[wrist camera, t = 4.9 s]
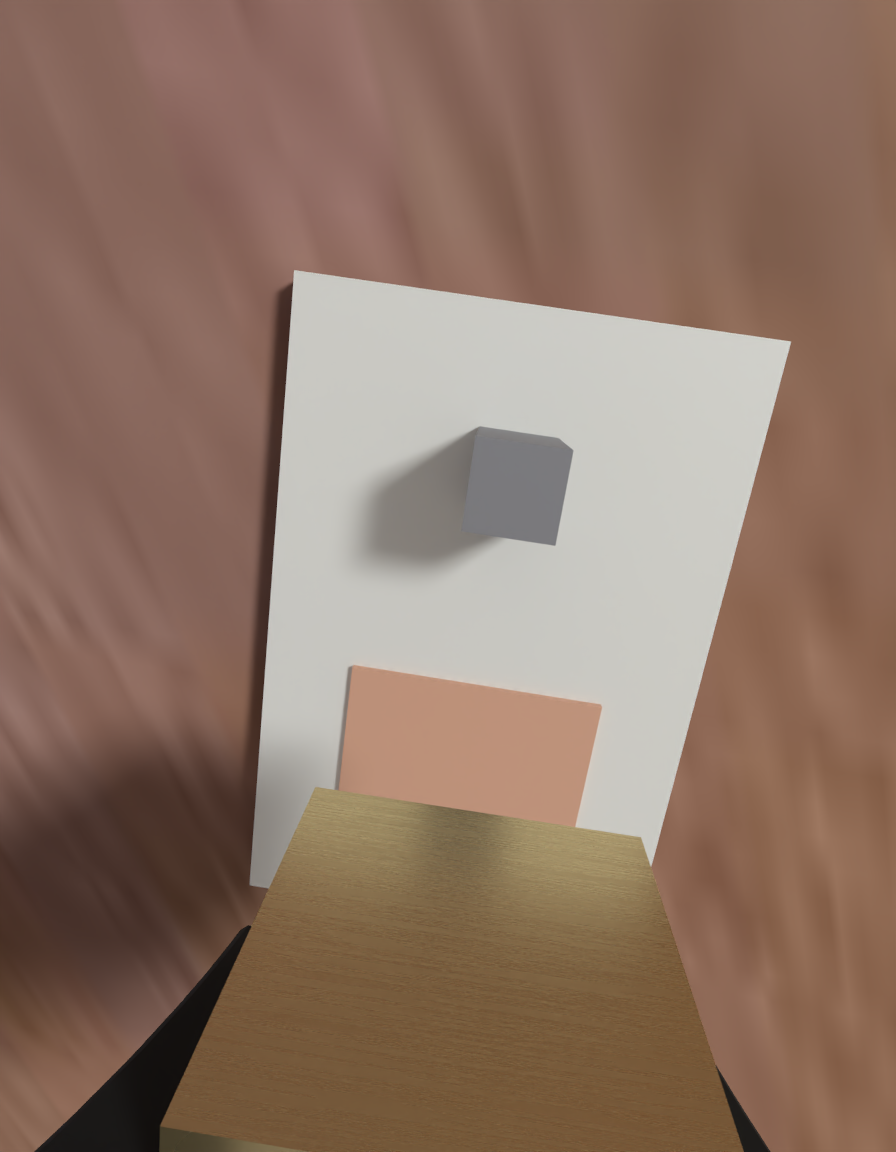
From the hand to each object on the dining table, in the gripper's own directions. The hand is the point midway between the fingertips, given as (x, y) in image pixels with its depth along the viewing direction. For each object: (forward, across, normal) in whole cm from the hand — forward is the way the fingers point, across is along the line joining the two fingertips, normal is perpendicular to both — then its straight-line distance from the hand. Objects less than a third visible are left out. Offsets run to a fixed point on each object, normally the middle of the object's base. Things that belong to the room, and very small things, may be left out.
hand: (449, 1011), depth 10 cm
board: (+10, 0, -2) cm, 11 cm away
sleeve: (+1, 0, 0) cm, 1 cm away
